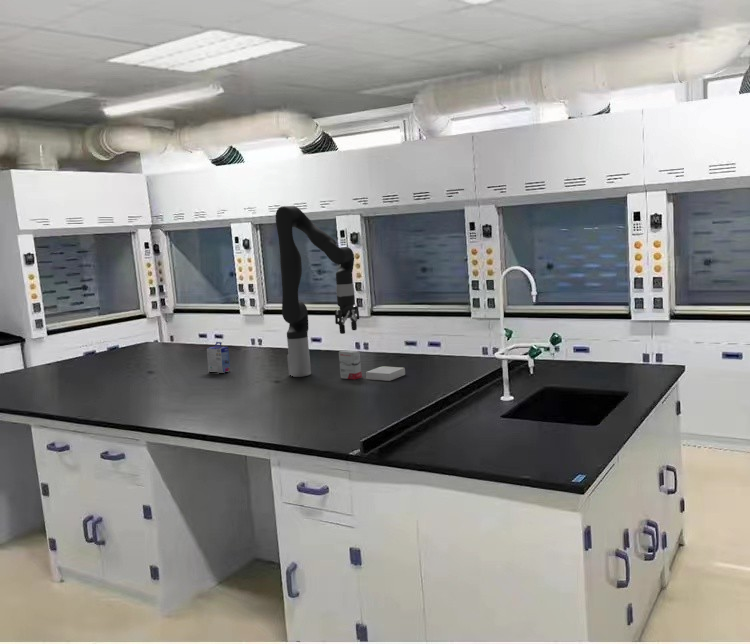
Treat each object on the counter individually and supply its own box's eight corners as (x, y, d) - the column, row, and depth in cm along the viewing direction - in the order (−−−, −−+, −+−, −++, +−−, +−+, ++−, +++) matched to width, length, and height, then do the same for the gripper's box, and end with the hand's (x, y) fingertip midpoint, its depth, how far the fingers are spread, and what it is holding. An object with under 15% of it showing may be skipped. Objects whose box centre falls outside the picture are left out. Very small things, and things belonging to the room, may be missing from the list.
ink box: (362, 377, 316) (360, 350, 314) (354, 380, 312) (352, 352, 311) (347, 375, 322) (345, 349, 320) (340, 378, 318) (337, 351, 316)
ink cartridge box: (231, 371, 351) (228, 341, 349) (223, 374, 346) (220, 344, 344) (216, 370, 356) (213, 341, 354) (208, 373, 351) (205, 343, 349)
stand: (366, 379, 312) (365, 372, 312) (382, 372, 322) (381, 366, 322) (389, 380, 305) (389, 373, 305) (405, 374, 315) (404, 367, 315)
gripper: (348, 292, 320) (351, 329, 322) (328, 296, 309) (331, 334, 311) (362, 292, 316) (365, 329, 318) (342, 296, 304) (345, 335, 307)
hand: (348, 331), depth 315 cm, fingers open, 8 cm apart
